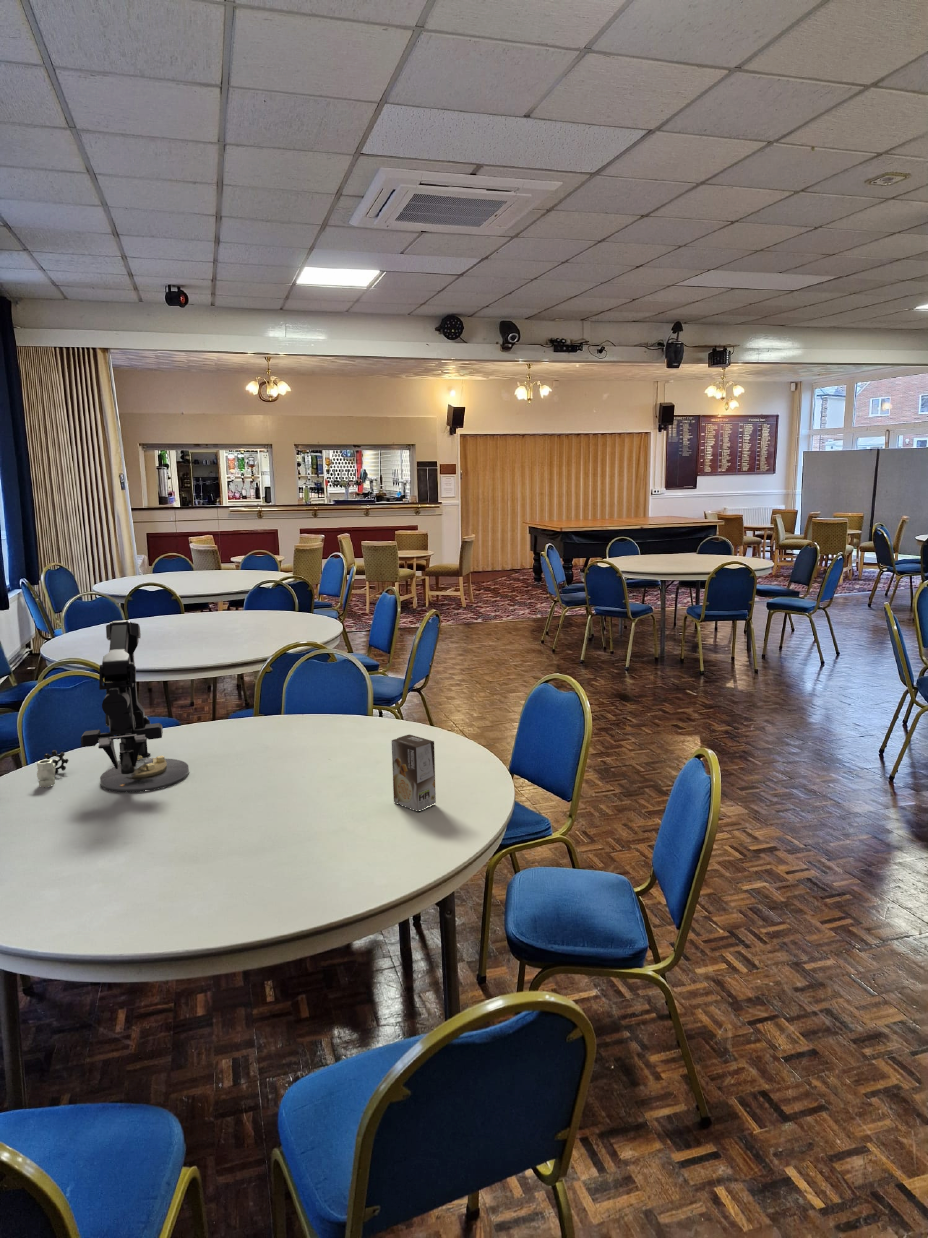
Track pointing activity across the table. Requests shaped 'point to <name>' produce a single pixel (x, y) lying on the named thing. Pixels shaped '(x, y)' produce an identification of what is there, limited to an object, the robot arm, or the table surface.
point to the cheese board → (141, 765)
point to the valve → (50, 768)
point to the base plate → (144, 778)
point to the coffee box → (413, 772)
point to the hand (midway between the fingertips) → (125, 767)
